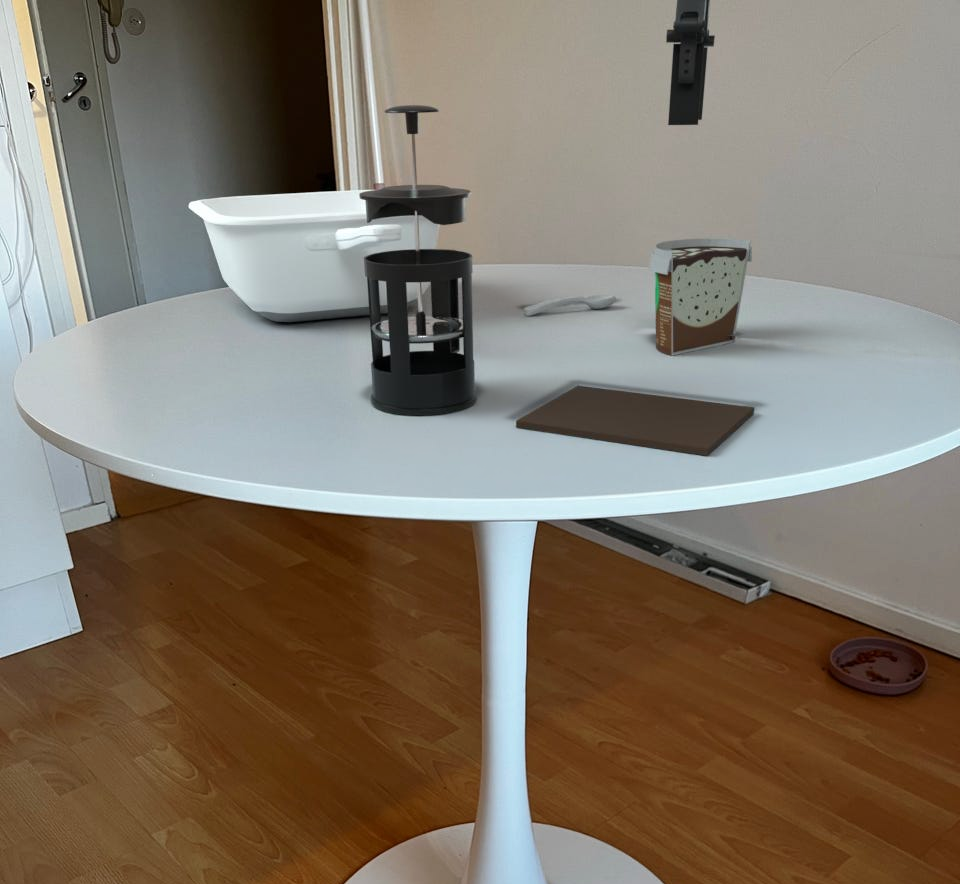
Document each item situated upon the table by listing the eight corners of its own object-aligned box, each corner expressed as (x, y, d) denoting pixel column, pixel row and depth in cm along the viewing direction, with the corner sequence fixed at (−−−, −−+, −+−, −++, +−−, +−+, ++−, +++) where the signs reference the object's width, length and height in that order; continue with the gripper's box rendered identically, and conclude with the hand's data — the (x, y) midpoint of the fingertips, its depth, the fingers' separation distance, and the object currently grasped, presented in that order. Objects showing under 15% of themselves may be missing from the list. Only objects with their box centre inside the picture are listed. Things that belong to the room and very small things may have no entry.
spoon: (620, 307, 123) (620, 290, 122) (531, 323, 120) (530, 306, 119) (609, 303, 125) (608, 286, 124) (521, 319, 122) (520, 302, 121)
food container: (700, 330, 111) (708, 234, 107) (743, 340, 107) (754, 239, 102) (618, 347, 105) (623, 245, 100) (661, 358, 101) (668, 252, 96)
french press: (449, 422, 83) (439, 106, 72) (348, 412, 86) (323, 107, 75) (499, 386, 92) (497, 102, 81) (406, 378, 95) (392, 104, 84)
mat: (753, 414, 83) (754, 407, 83) (707, 456, 74) (708, 448, 74) (577, 391, 90) (577, 385, 90) (515, 427, 81) (515, 420, 81)
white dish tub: (400, 281, 143) (395, 184, 136) (525, 345, 106) (525, 216, 100) (196, 298, 134) (181, 195, 128) (256, 374, 97) (239, 234, 91)
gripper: (670, -122, 100) (655, 118, 110) (653, -176, 79) (637, 127, 89) (747, -126, 99) (725, 117, 109) (751, -182, 77) (723, 126, 88)
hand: (685, 122), depth 99 cm, fingers open, 13 cm apart
